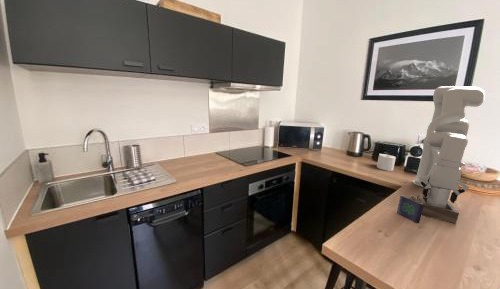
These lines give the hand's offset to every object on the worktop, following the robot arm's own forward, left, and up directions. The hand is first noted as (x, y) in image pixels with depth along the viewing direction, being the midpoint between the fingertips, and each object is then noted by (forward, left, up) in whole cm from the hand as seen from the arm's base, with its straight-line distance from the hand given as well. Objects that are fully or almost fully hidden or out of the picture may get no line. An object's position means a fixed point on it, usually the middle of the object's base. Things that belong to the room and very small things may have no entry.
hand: (438, 198), depth 96 cm
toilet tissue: (-64, -15, -8) cm, 66 cm away
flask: (+12, -12, -8) cm, 19 cm away
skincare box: (0, 0, -6) cm, 7 cm away
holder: (0, 0, -7) cm, 7 cm away
